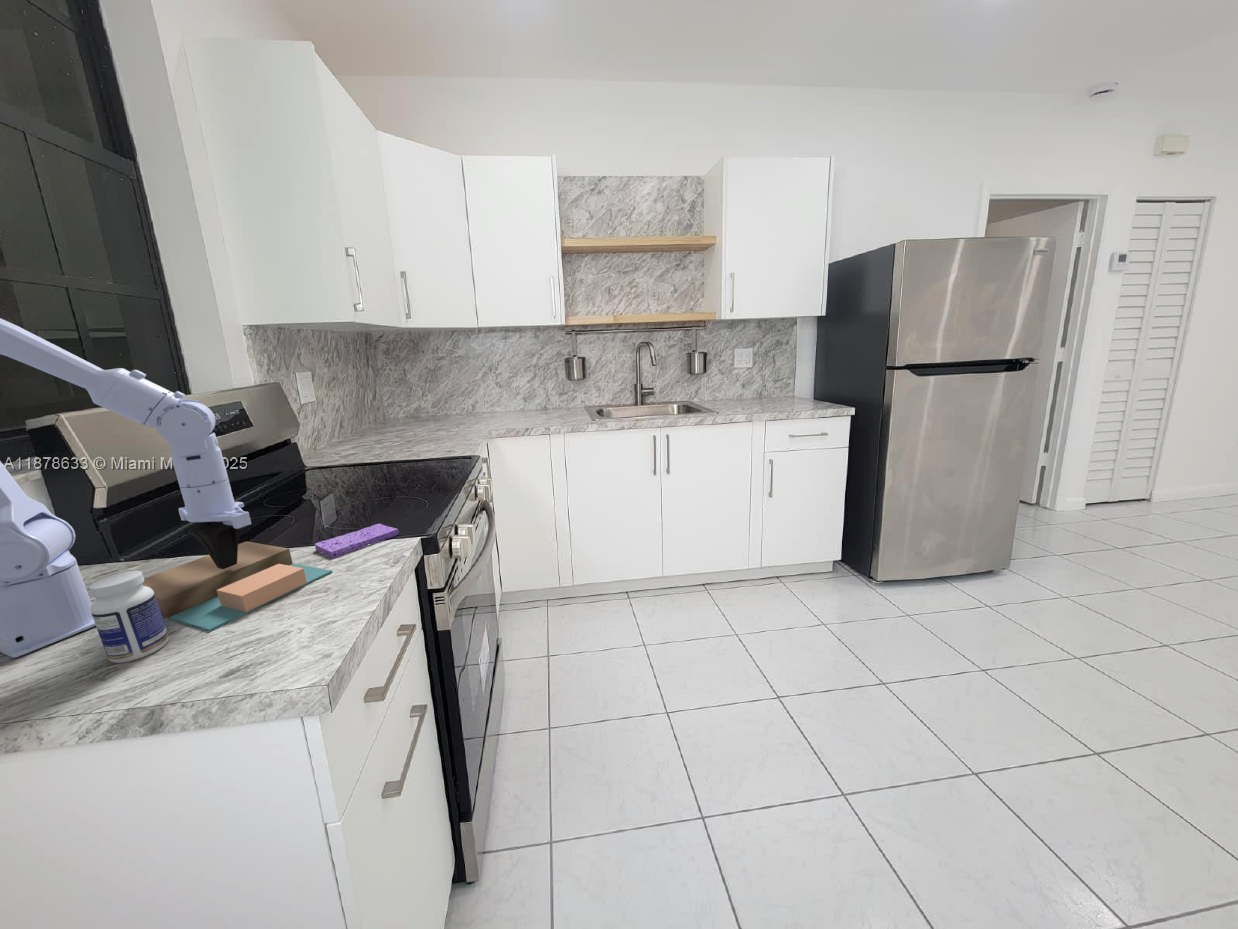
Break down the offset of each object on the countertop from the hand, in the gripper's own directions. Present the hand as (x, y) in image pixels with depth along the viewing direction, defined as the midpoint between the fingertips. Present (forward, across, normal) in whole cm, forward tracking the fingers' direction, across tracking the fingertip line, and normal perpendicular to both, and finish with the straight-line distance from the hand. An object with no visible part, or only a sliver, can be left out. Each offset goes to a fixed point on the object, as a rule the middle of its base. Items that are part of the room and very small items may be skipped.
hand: (227, 566), depth 78 cm
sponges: (+5, -4, -20) cm, 21 cm away
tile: (+2, -8, 0) cm, 8 cm away
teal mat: (+4, -6, 0) cm, 7 cm away
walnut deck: (+4, +5, 0) cm, 6 cm away
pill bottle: (+4, -7, +15) cm, 17 cm away
